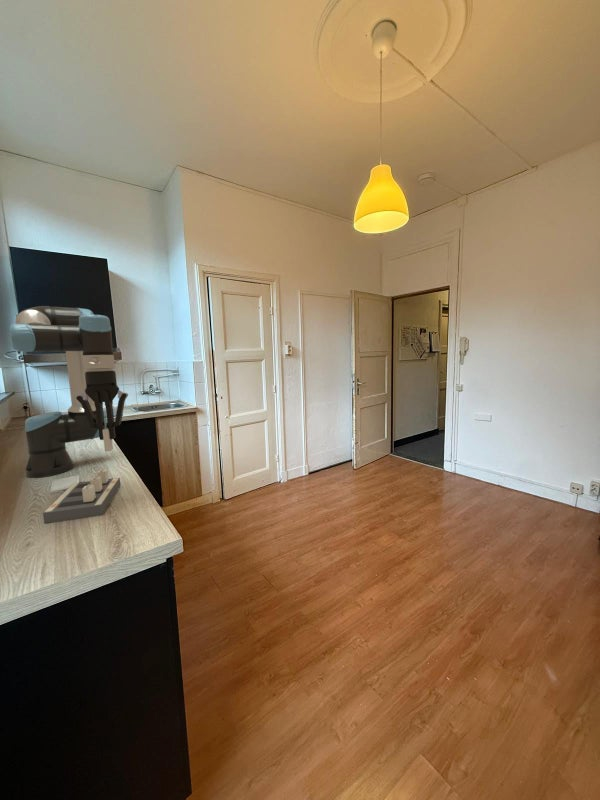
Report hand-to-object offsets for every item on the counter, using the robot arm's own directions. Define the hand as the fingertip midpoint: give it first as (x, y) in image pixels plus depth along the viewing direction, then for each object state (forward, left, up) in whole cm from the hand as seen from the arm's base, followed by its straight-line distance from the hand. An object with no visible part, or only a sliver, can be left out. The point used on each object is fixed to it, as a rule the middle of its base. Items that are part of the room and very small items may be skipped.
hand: (109, 449), depth 94 cm
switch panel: (-6, -9, -18) cm, 21 cm away
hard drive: (-24, -21, -18) cm, 37 cm away
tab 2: (-6, -6, -14) cm, 16 cm away
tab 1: (+1, -6, -14) cm, 15 cm away
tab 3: (-13, -6, -14) cm, 20 cm away
